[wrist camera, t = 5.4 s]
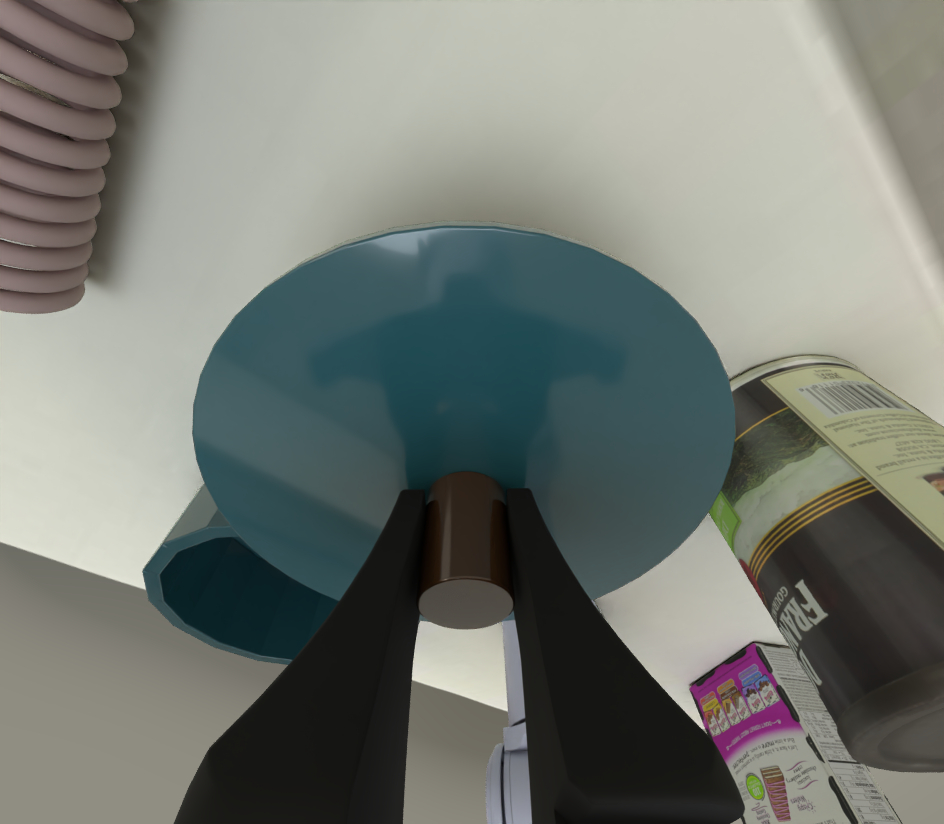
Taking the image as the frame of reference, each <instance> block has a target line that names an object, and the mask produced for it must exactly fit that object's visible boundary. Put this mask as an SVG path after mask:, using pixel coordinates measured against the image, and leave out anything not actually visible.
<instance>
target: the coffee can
mask: <svg viewBox="0 0 944 824" xmlns="http://www.w3.org/2000/svg"><path fill="white" fill-rule="evenodd" d="M730 386H731V391H732V396H733V400H734V405H735V425H736V438H735V444H734V450H733V455H732V461H731V465H730V468H729V471H728V473H727V476H726V479H725V482H724V485H723V487H722V489H721V491H720V493H719V495H718V497H717V498H716V500H715V502H714V504H713V506H712V508H711V509H710V511H709V514H710V515H711V517H712V519H713V520H714V522H715V524H716V525H717V527H718V528H719V530H720V532H721V534H722V535H723V537H724V538H725V540H726V542H727V543H728V545H729V547H730V548H731V550H732V552H733V553H734V555H735V557H736V558H737V560H738V562H739V563H740V565H741V567H742V568H743V570H744V572H745V574H746V575H747V577H748V579H749V581H750V582H751V584H752V585H753V587H754V588H755V590H756V592H757V594H758V595H759V597H760V598H761V600H762V602H763V604H764V605H765V607H766V608H767V610H768V612H769V613H770V615H771V617H772V618H773V620H774V622H775V623H776V625H777V627H778V629H779V630H780V632H781V634H782V635H783V637H784V639H785V640H786V642H787V643H788V645H789V647H790V648H791V650H792V652H793V653H794V655H795V657H796V658H797V660H798V661H799V663H800V665H801V667H802V669H803V670H804V672H805V674H806V676H807V677H808V679H809V680H810V682H811V683H812V685H813V686H814V688H815V690H816V692H817V693H818V695H819V697H820V698H821V700H822V702H823V703H824V705H825V707H826V709H827V711H828V712H829V714H830V716H831V717H832V719H833V721H834V722H835V724H836V726H837V732H838V735H839V737H840V739H841V741H842V743H843V744H844V746H845V748H846V749H847V751H848V753H849V754H850V756H851V757H852V758H853V759H854V760H855V761H857V762H859V763H861V764H863V765H866V766H870V767H874V768H878V769H884V770H890V771H898V772H944V427H943V426H941V425H940V424H938V423H937V422H935V421H934V420H932V419H931V418H929V417H928V416H926V415H925V414H924V413H922V412H921V411H919V410H918V409H917V408H915V407H913V406H912V405H910V404H908V403H907V402H906V401H904V400H903V399H901V398H899V397H898V396H896V395H895V394H893V393H892V392H890V391H889V390H887V389H886V388H884V387H883V386H881V385H880V384H878V383H877V382H875V381H874V380H872V379H871V378H869V377H868V376H866V375H865V374H864V373H863V372H862V371H861V370H860V369H858V368H857V367H856V366H854V365H853V364H851V363H849V362H847V361H844V360H841V359H838V358H836V357H828V356H814V355H810V356H797V357H791V358H786V359H781V360H777V361H774V362H771V363H768V364H765V365H762V366H759V367H756V368H754V369H751V370H749V371H748V372H746V373H744V374H743V375H741V376H738V377H737V378H735V379H733V380H731V381H730Z"/></svg>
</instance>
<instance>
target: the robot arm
mask: <svg viewBox="0 0 944 824" xmlns="http://www.w3.org/2000/svg"><path fill="white" fill-rule="evenodd" d="M506 511H507V521H508V532H509V541H510V551H511V562H512V572H513V582H514V593H515V606H514V609H513V611H514V617H515V620H510V621H502V628H503V643H504V658H505V673H506V688H507V703H508V717H509V727H505V728H503V734H504V743H503V744H497V745H496V747H495V748H494V751H493V753H492V755H491V756H490V758H489V761H488V765H487V774H486V813H487V824H730V823H732V822H734V821H736V820H737V819H739V818H740V817H741V816H743V814H744V811H745V805H744V802H743V800H742V797H741V794H740V792H739V789H738V787H737V785H736V782H735V780H734V778H733V776H732V774H731V772H730V770H729V768H728V766H727V764H726V762H725V760H724V759H723V757H722V755H721V753H720V751H719V749H718V747H717V746H716V744H715V742H714V741H713V740H712V739H711V738H710V737H709V736H708V735H707V734H706V733H705V732H704V731H703V730H702V729H701V728H700V727H699V726H698V725H697V724H696V723H695V722H694V721H693V720H692V719H691V718H690V717H689V716H688V715H687V714H686V713H685V711H684V710H683V709H682V708H681V707H680V706H679V705H678V704H677V703H676V702H675V701H674V700H673V699H672V698H671V697H670V696H669V695H668V693H667V692H666V691H665V690H664V689H663V688H662V687H661V686H660V685H659V684H658V683H657V681H656V680H655V679H654V678H653V677H652V676H651V675H650V674H649V673H648V671H647V670H646V669H645V668H644V667H643V665H642V664H641V663H640V662H639V661H638V659H637V658H636V657H635V656H634V655H633V654H632V652H631V651H630V650H629V649H628V648H627V646H626V645H625V644H624V643H623V642H622V640H621V639H620V638H619V637H618V636H617V634H616V633H615V632H614V630H613V629H612V628H611V626H610V625H609V624H608V623H607V621H606V620H605V619H604V617H603V616H602V614H601V613H600V611H599V609H598V607H597V606H596V604H595V602H594V600H591V599H590V598H589V596H588V595H587V593H586V592H585V591H584V589H583V588H582V586H581V585H580V583H579V581H578V580H577V578H576V577H575V575H574V574H573V572H572V570H571V569H570V567H569V565H568V564H567V562H566V560H565V559H564V557H563V555H562V554H561V552H560V550H559V548H558V546H557V545H556V543H555V541H554V539H553V537H552V536H551V534H550V532H549V530H548V528H547V526H546V524H545V522H544V520H543V518H542V515H541V513H540V511H539V509H538V506H537V504H536V502H535V499H534V496H533V494H532V491H531V490H530V489H529V488H507V499H506ZM425 512H426V499H425V490H424V489H404V490H402V491H401V492H400V494H399V496H398V499H397V501H396V504H395V506H394V508H393V510H392V513H391V515H390V517H389V519H388V521H387V523H386V525H385V527H384V529H383V531H382V532H381V534H380V536H379V538H378V540H377V541H376V543H375V545H374V547H373V549H372V550H371V552H370V554H369V556H368V557H367V559H366V561H365V562H364V564H363V565H362V567H361V569H360V570H359V572H358V573H357V575H356V577H355V578H354V580H353V581H352V583H351V584H350V586H349V587H348V589H347V590H346V592H345V593H344V595H343V596H342V598H341V599H340V600H339V602H338V603H337V605H336V606H335V607H334V609H333V610H332V612H331V613H330V614H329V616H328V617H327V618H326V620H325V621H324V622H323V623H322V625H321V626H320V627H319V629H318V630H317V631H316V632H315V634H314V635H313V636H312V637H311V639H310V640H309V641H308V643H307V644H306V645H305V646H304V647H303V649H302V650H301V651H300V652H299V653H298V655H297V656H296V657H295V658H294V659H293V660H292V662H291V663H290V664H289V665H288V666H287V667H286V668H285V670H284V671H283V672H282V673H281V674H280V675H279V676H278V677H277V678H276V680H275V681H274V682H273V683H272V684H271V685H270V686H269V687H268V688H267V689H266V691H265V692H264V693H263V694H262V695H261V696H260V697H259V698H258V699H257V700H256V701H255V702H254V703H253V704H252V705H251V707H249V708H248V710H246V712H245V713H244V714H243V715H242V716H241V717H240V718H239V719H238V720H237V721H236V722H235V723H234V724H233V725H232V726H231V727H230V728H229V729H228V730H227V731H226V732H225V733H224V734H223V735H222V736H221V737H220V738H219V739H218V740H217V741H216V742H215V743H214V744H213V745H212V746H211V747H210V748H209V750H208V751H207V753H206V755H205V757H204V759H203V761H202V763H201V764H200V766H199V768H198V770H197V772H196V774H195V776H194V778H193V780H192V782H191V784H190V786H189V788H188V790H187V793H186V795H185V798H184V800H183V802H182V805H181V807H180V810H179V812H178V815H177V817H176V820H175V822H174V824H403V807H404V788H405V770H406V755H407V738H408V723H409V708H410V695H411V694H410V693H411V681H412V668H413V658H414V649H415V642H416V636H417V630H418V623H419V617H420V613H419V611H418V609H417V606H416V596H417V586H418V577H419V567H420V558H421V549H422V539H423V531H424V522H425Z"/></svg>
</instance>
